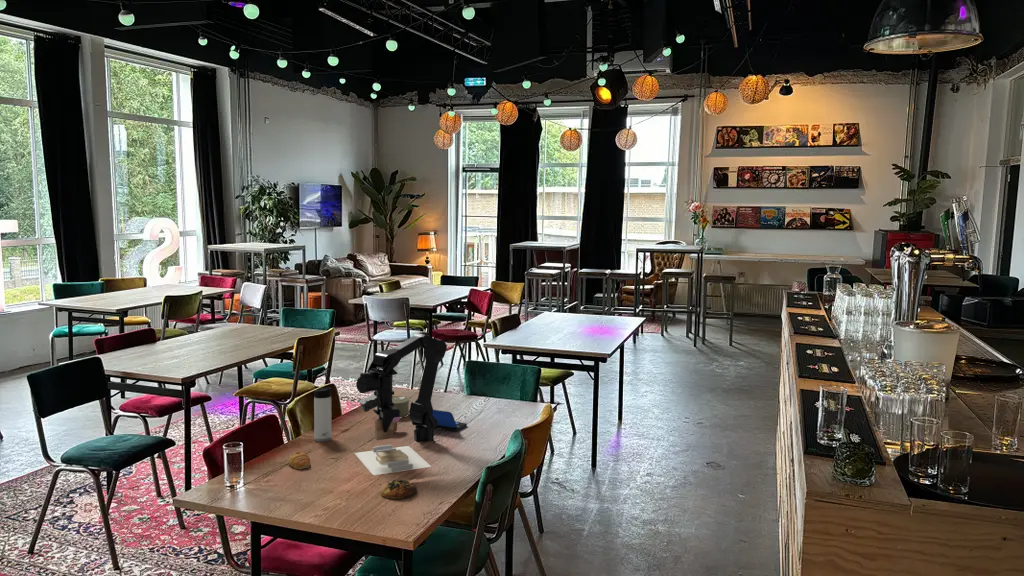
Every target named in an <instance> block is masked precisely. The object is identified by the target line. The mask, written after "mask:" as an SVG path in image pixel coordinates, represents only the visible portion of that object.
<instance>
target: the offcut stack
mask: <svg viewBox="0 0 1024 576" xmlns="http://www.w3.org/2000/svg"><path fill="white" fill-rule="evenodd" d="M376 460H377V461H378V462H379V463H380V464H383V463H388V462H395V461H402V460H408V456H407V455H406V454H405V453H404V452H402V451H401V450H392V451H385V452H377V456H376Z"/></svg>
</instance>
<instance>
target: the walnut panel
mask: <svg viewBox="0 0 1024 576" xmlns="http://www.w3.org/2000/svg"><path fill="white" fill-rule="evenodd" d="M374 439H375V441H382V440H383V441H384V440H391V439H394V433H393V420H392V422H391V424H390V426H389V429H388V431H387V432H384V431H383V426H382V419H378V418H375V419H374Z"/></svg>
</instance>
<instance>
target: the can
mask: <svg viewBox="0 0 1024 576" xmlns="http://www.w3.org/2000/svg"><path fill="white" fill-rule="evenodd" d="M392 402H393V403H394V406H391V407H396V408H397V409H398V410H400V417H404V416H407V415H408V413H409V410H410V406H409V402H410V398H409V397H406V396H399V395H396V396H395V395H393V400H392ZM409 414H410V413H409ZM408 416H409V415H408ZM408 416H407V417H408Z"/></svg>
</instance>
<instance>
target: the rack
mask: <svg viewBox="0 0 1024 576" xmlns="http://www.w3.org/2000/svg"><path fill="white" fill-rule="evenodd" d="M392 450H401V451H402V452H404V453H405V454H406V455H407V456H408V460H402V461H395V462H388V463H383V464H380V463H379V462H378V461H377V460H376V456H377V452H385V451H392ZM354 454H355V456H356V457H357V458H358V459H359V460H360V462H361V463H362V464H363V466H365V468H366V469H367V470H368V471H369V473H371V475H372V476H377V475H384V474H386V475H387V474H392V473H398V472H404V471H405V472H407V471H412V470H418V469H427V468H431V467H432V465H430V464H429V463H428V462H427V461H426V460H425V459H424V458H423V457H422V456H420V454H418V453H417V451H415V450H414V449H413V448H412V447H410V445H405V446H398V447H393V444H384V445H377V446H372V450H368V451H361V452H359V451H358V452H354Z"/></svg>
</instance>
